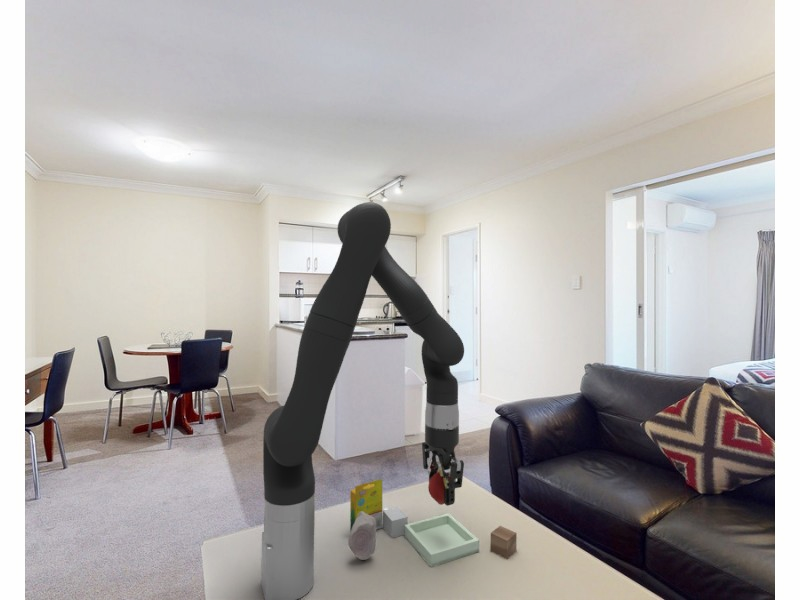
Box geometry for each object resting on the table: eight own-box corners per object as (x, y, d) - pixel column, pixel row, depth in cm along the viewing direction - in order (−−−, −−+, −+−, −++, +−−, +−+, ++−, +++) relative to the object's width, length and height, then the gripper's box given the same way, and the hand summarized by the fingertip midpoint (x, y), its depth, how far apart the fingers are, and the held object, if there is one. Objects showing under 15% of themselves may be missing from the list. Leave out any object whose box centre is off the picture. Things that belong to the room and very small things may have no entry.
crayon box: (376, 522, 97) (377, 474, 97) (383, 528, 95) (383, 478, 95) (349, 531, 93) (350, 481, 93) (355, 537, 91) (355, 486, 91)
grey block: (391, 538, 91) (392, 520, 91) (382, 527, 95) (383, 510, 95) (407, 534, 93) (407, 516, 93) (397, 523, 97) (398, 506, 97)
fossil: (348, 568, 80) (349, 518, 80) (346, 557, 84) (347, 509, 84) (377, 563, 82) (377, 514, 82) (373, 553, 85) (374, 506, 85)
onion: (454, 498, 92) (454, 463, 92) (455, 511, 86) (455, 474, 86) (428, 497, 92) (428, 462, 92) (427, 510, 86) (428, 473, 86)
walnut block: (507, 559, 84) (507, 540, 84) (490, 551, 86) (490, 532, 86) (516, 551, 87) (516, 532, 87) (499, 543, 89) (500, 525, 89)
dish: (431, 567, 81) (431, 554, 81) (404, 535, 92) (404, 524, 92) (479, 551, 86) (479, 540, 86) (448, 523, 97) (448, 513, 97)
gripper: (411, 415, 94) (411, 487, 94) (445, 434, 81) (444, 517, 81) (439, 412, 97) (438, 481, 97) (475, 429, 84) (474, 509, 84)
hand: (441, 497), depth 89 cm, fingers closed on onion, 6 cm apart
